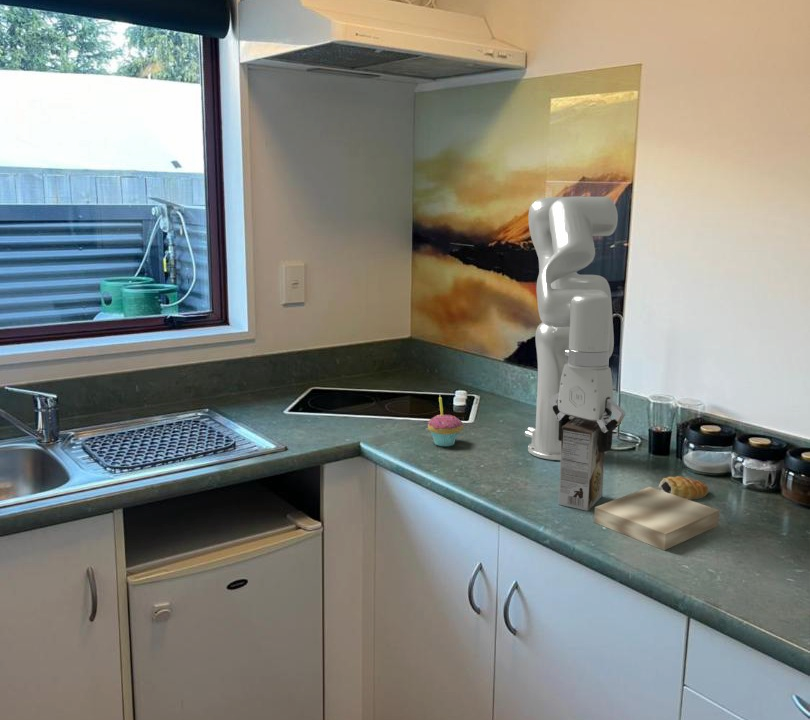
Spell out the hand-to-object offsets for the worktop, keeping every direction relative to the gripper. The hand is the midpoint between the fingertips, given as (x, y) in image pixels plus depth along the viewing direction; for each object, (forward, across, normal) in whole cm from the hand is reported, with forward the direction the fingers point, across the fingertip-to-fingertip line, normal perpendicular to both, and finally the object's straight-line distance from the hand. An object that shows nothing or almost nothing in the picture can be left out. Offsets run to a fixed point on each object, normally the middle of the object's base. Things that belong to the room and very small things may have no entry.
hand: (584, 445), depth 156 cm
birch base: (+12, +15, +3) cm, 20 cm away
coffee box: (+12, -1, +1) cm, 12 cm away
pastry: (+12, +10, +20) cm, 25 cm away
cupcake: (+11, -45, +4) cm, 46 cm away
